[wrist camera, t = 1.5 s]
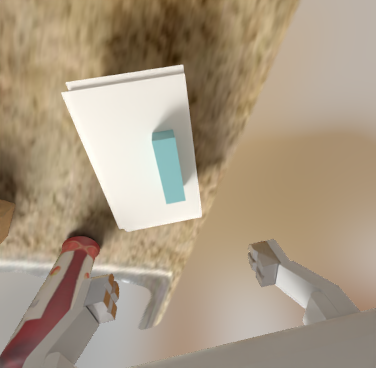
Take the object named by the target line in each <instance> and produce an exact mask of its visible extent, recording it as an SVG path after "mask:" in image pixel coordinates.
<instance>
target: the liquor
mask: <svg viewBox="0 0 376 368" xmlns="http://www.w3.org/2000/svg"><path fill="white" fill-rule="evenodd" d="M99 252H100V247H99V245H98V244H97V243H96V242H95V241H94V240H92V239H91V238H88V237H85V236H76V237H71V238H69V239H67V240H66V241H65V242H64V243H63V245H62V252H61V254H60V255H59V257H58V259H57V261H56V263H55V264H54V266H53V268H52V270H51V271H50V273H49V275H48V276H47V278H46V280H45V282H44V283H43V285H42V287H41V288H40V290H39V292H38V293H37V295H36V297H35V298H34V300H33V301H32V303H31V305H30V306H29V308H28V310H27V311H26V313H25V314H24V316H23V318H22V320H21V321H20V323H19V325H18V327H17V328H16V330H15V332H14V333H13V335H12V337H11V339H10V340H9V342H8V344H7V345H6V347H5V349H4V351H3V352H2V354H1V355H0V368H22V367H23V365H24V362H25V360H26V358H27V357H28V356H29V355H30V353H31V352H32V351H33V350H34V349H35V348H36V347H37V346H38V345H39V343H40V342H41V341H42V340H43V339H44V338H45V337H46V336H47V334H48V333H49V332H50V331H51V330H52V329H53V328H54V327H55V326H56V324H57V323H58V322H59V321H60V320H61V319H62V318H63V317H64V315H65V314H66V313H67V312H68V311H69V310H70V309H73V306H74V303H75V301H76V298H77V295H78V292H79V289H80V287H81V284H82V282H83V280H84V279H86V278H90V274H91V270H92V267H93V264H94V260H95V257H96V256H98V254H99Z"/></svg>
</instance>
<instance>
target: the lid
mask: <svg viewBox="0 0 376 368" xmlns="http://www.w3.org/2000/svg"><path fill="white" fill-rule="evenodd" d="M66 85H67V87H68V90H69V91H67V92H62V93H61V94H62V96H63V98H64V101H65V103H66V105H67V108H68V110H69V112H70V115H71V117H72V119H73V122H74V124H75V126H76V129H77V131H78V133H79V136H80V138H81V140H82V143H83V145H84V147H85V150H86V152H87V154H88V157H89V159H90V161H91V164H92V166H93V168H94V171H95V173H96V175H97V178H98V180H99V182H100V185H101V187H102V189H103V192H104V194H105V197H106V199H107V201H108V204H109V206H110V208H111V211H112V213H113V215H114V218H115V220H116V222H117V225H118V227H119V229H123V228H124V230H126V232H129V231H134V230H139V229H144V228H149V227H154V226H159V225H164V224H169V223H174V222H179V221H184V220H189V219H193V218H198V217H202V211H201V202H200V194H199V186H198V178H197V170H196V162H195V153H194V145H193V137H192V129H191V121H190V113H189V104H188V96H187V88H186V80H185V73H184V68H183V65H177V66H170V67H164V68H157V69H151V70H144V71H137V72H131V73H124V74H118V75H111V76H105V77H98V78H92V79H85V80H79V81H72V82H66Z"/></svg>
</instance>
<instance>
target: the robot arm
mask: <svg viewBox="0 0 376 368" xmlns="http://www.w3.org/2000/svg"><path fill="white" fill-rule="evenodd" d="M248 249H249V251H250V252H249V253H248V259H249V263H250V265H251V268H252V270H254V271H255V272H256V278H257V280H258V282H259V284H260V286H261V287H264V286H268V285H274V284H276V286H277V287H279V288H280V289H281V290H282V291H283V292H285V293H286V294H287V295H289V296H290V297H291V298H292V299H293V300H295V301H296V302H297V303H298V304H300V305H301V306H302V307H303V308H305V309H306V311H305V314H304V317H303V320H302V321H303V322H304V324H305V325H303V326H299V327H295V328H291V329H287V330H282V331H278V332H274V333H270V334H266V335H262V336H257V337H253V338H249V339H245V340H241V341H237V342H233V343H228V344H224V345H220V346H216V347H212V348H207V349H203V350H199V351H195V352H191V353H187V354H182V355H178V356H174V357H170V358H166V359H162V360H158V361H154V362H149V363H145V364H141V365H137V366H132V367H128V368H376V308H374V309H370V310H366V311H360V310H359V309H358V308H357V307H356V306H355V305H354V303H353V302H352V301H351V300H350V299H349V298H348V296H346V294H345V293H344V292H343V291H342V289H341V288H340V287H339V286H337V285H336V284H334V283H332V282H330V281H328V280H327V279H325V278H323V277H321V276H319V275H318V274H316V273H314V272H312V271H311V270H309V269H307V268H305V267H303V266H302V265H300V264H298V263H296V262H294V261H290V260H289V258H288V257H287V256H286V254H285V253H284V252H283V250H282V249H281V247H280V246H279V245H278V243H277V242H276V241H275V240H274V239H271V240H267V241H261V242H257V243H253V244H249V246H248ZM118 299H119V286H118V283H117V282H116V281H114V276H113V274H107V275H102V276H97V277H91V278H86V279H84V280H83V282H82V284H81V287H80V289H79V292H78V295H77V298H76V301H75V303H74V306H73V309H70V310H69V311H68V312H67V313H66V314H65V315H64V317H63V318H62V319H61V320H60V321H59V322H58V323H57V324H56V326H55V327H54V328H53V329H52V330H51V331H50V332H49V333H48V334H47V336H46V337H45V338H44V339H43V340H42V341H41V342H40V343H39V345H38V346H37V347H36V348H35V349H34V350H33V351H32V352H31V353H30V355H29V356H28V357H27V358H26V360H25V362H24V365H23V367H22V368H77V367H76V366H75V363H76V361H77V360H78V358H79V357H80V355H81V354H82V352H83V350H84V349H85V347H86V346H87V344H88V342H89V341H90V339H91V337H92V336H93V334H94V333H95V331H96V330H97V328H98V326H99V324H101V323H105V322H109V321H113V320H115V316H116V311H117V306H116V304H115V303H116V302H117V300H118Z"/></svg>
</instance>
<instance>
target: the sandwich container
mask: <svg viewBox="0 0 376 368" xmlns="http://www.w3.org/2000/svg"><path fill="white" fill-rule="evenodd" d="M14 208H15V204H14V203H11V202H8V201H4V200H1V199H0V244H1V243H2V242H3V240H4V239H5V238H6V237H7V236H8V232H9V228H10V224H11V220H12V216H13V212H14Z"/></svg>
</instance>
